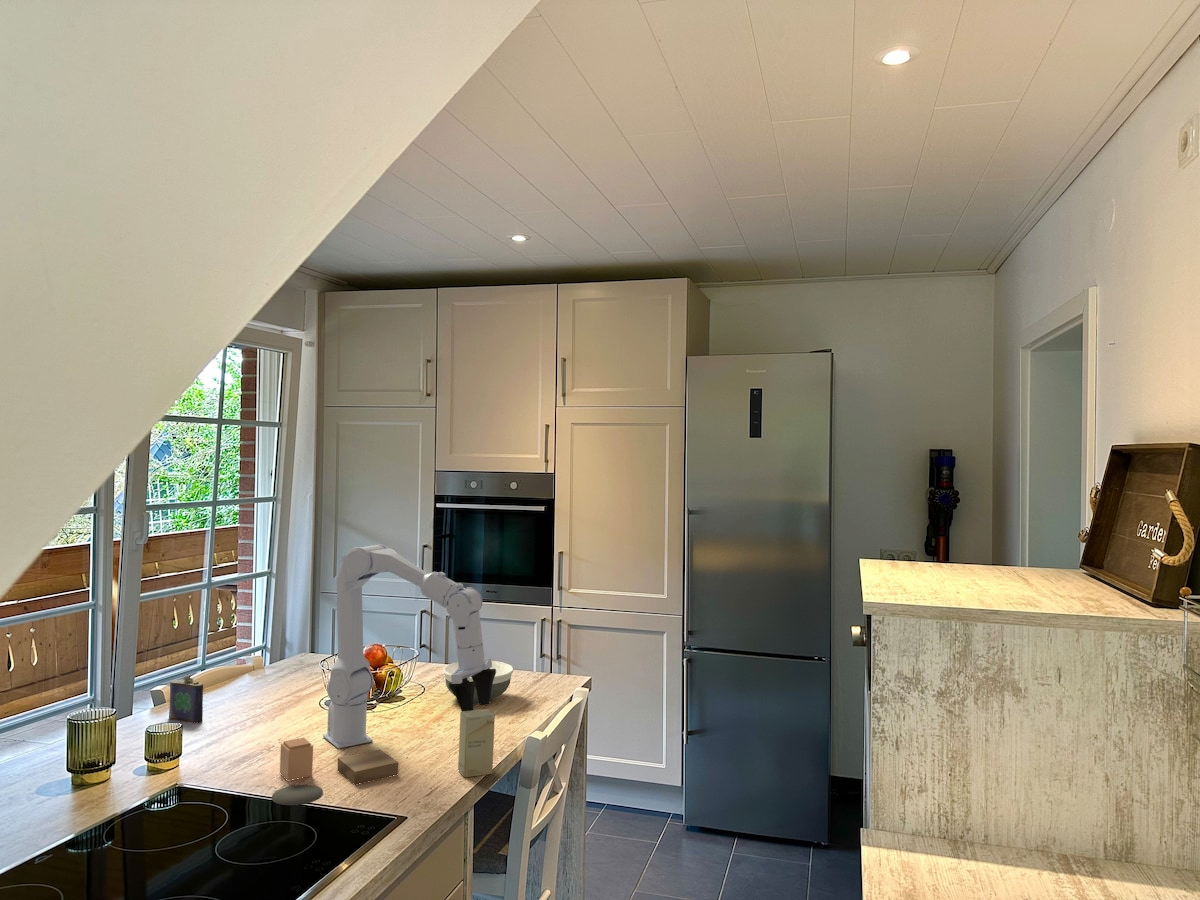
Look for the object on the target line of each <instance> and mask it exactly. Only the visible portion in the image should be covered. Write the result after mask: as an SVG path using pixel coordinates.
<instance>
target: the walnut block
mask: <svg viewBox="0 0 1200 900" xmlns="http://www.w3.org/2000/svg"><path fill="white" fill-rule="evenodd" d="M338 771H339V772H338ZM337 772H338V773H339V774H341V775H342V774H343V775H344V776H345V779H347V780H348V779H349V780H350V781H351V782H350V781H349V780H348V781H349V782H350V783H352V784H353V783H354V784H355V785H354V784H353V785H354V786H357V785H356V784H358V785H360V784H359V783H362V784H365V783H364V782H366V783H369V782H368V781H371V782H373V780H375V781H379V780H383V779H386V778H387V777H388V778H390V777H389V776H392V777H394V776H393V775H396V776H398V775H399V761H398V760H396V759H395V758H393V757H392V756H390V755H389V754H388V753H386V752H385V751H384V750H381V749H374V750H370V751H365V752H364V751H363V752H359V753H355V754H350V755H345V756H342V757H338V758H337ZM397 774H398V775H397ZM343 775H342V776H343ZM344 776H343V777H344ZM382 778H383V779H382ZM378 779H379V780H378Z"/></svg>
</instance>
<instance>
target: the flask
mask: <svg viewBox="0 0 1200 900" xmlns="http://www.w3.org/2000/svg"><path fill="white" fill-rule="evenodd" d="M192 676H193V674H187V675H183V676H182V677H183V680H181V679H180V680H179V679H178V680H177V679H176V680H172V681H170V682H169V683H170V684H169V687H170V688H169V690H170V691H169V707H168V708H169V712H168V718H169V720H171V721H178V722H181V723H182V722H185V723H190V724H202V723H203V714H204V710H203V708H204V706H203V705H204V703H203V700H204V699H203V698H204V697H203V696H204V684H203V683H201V682H199V681H198V680H195V681H194V678H191V677H192Z"/></svg>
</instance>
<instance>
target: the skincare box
mask: <svg viewBox="0 0 1200 900" xmlns="http://www.w3.org/2000/svg"><path fill="white" fill-rule="evenodd" d="M459 717H460V719H459V741H458V761H457V762H458V763H457V764H458V765H457V766H458V767H457V771H458V770H459V771H458V772H459V773H460V774H461V776H463V778H468V777H469V778H471V777H478V776H486V775H492V774H493V772H494V771H493V769H494V768H493V767H494V743H495V741H494V740H495V717H496V714H495V713H494V712H493V711H492V710H490V709H489V708H482V709H474V710H472V711H463V712H462V711H460V715H459Z"/></svg>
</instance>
